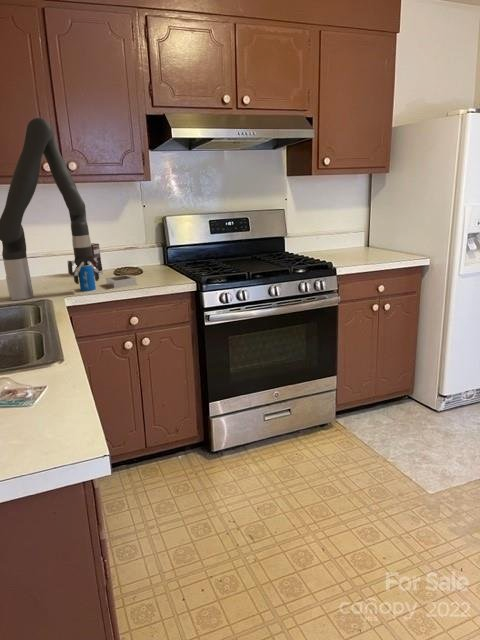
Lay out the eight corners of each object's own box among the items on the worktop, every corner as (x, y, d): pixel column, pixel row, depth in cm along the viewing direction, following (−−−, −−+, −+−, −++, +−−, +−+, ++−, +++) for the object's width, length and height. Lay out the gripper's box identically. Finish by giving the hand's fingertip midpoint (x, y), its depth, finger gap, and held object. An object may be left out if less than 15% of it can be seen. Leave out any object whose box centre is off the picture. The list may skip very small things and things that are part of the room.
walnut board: (106, 291, 211) (105, 289, 211) (98, 287, 219) (98, 285, 219) (138, 285, 219) (137, 284, 219) (130, 282, 227) (129, 280, 227)
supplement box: (84, 274, 250) (80, 244, 245) (91, 272, 254) (87, 242, 249) (96, 275, 246) (92, 244, 241) (103, 273, 250) (99, 243, 245)
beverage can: (80, 293, 209) (76, 266, 206) (81, 290, 216) (78, 264, 212) (95, 292, 211) (91, 265, 207) (96, 289, 217) (93, 262, 213)
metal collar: (114, 288, 213) (113, 281, 212) (106, 284, 221) (105, 278, 220) (136, 284, 218) (135, 278, 217) (128, 280, 227) (127, 274, 226)
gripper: (67, 248, 200) (73, 286, 205) (101, 244, 208) (105, 281, 213) (63, 246, 206) (68, 283, 211) (95, 242, 214) (100, 278, 219)
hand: (87, 282), depth 212 cm, fingers open, 8 cm apart
